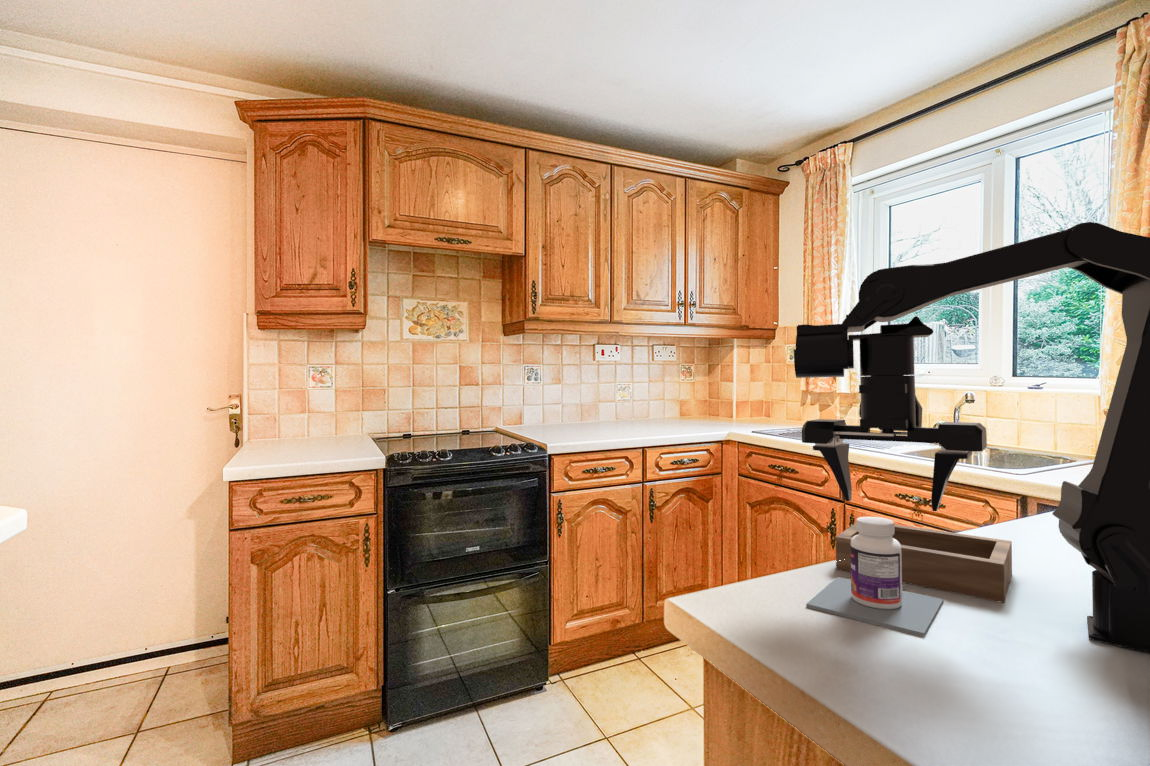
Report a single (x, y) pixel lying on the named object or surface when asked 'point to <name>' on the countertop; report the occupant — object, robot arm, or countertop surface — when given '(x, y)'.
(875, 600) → the pill bottle
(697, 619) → the countertop surface
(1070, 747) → the countertop surface
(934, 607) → the mat
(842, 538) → the slot box
